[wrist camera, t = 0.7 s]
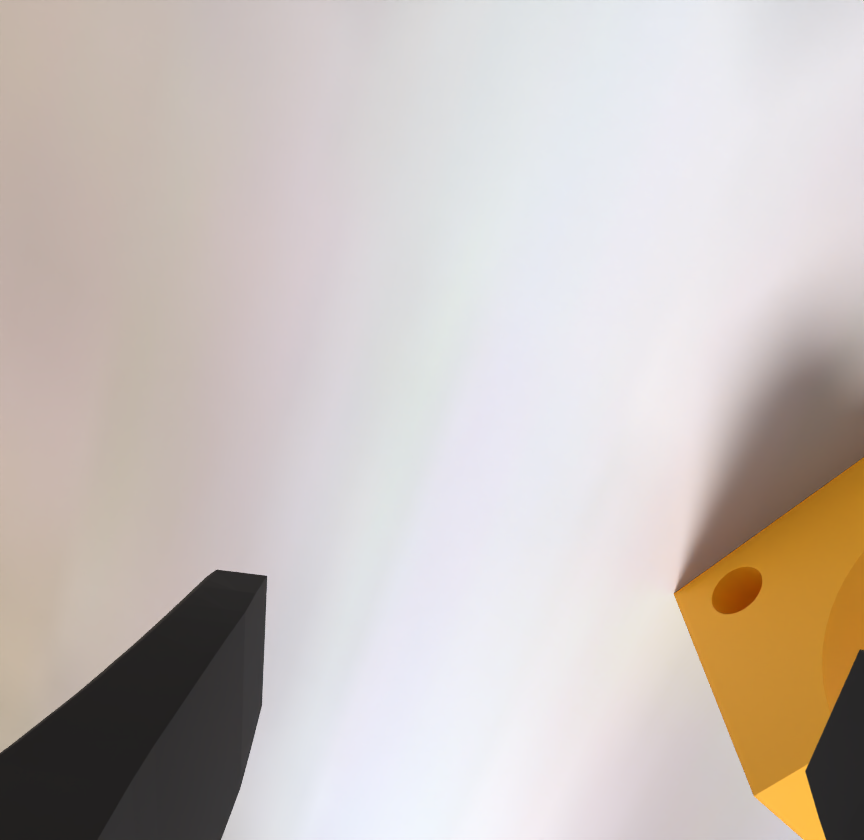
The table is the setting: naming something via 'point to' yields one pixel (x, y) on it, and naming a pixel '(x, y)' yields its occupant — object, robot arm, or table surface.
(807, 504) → the orange notched block
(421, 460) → the table surface
